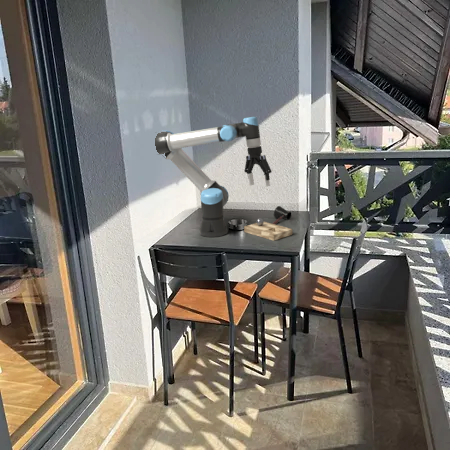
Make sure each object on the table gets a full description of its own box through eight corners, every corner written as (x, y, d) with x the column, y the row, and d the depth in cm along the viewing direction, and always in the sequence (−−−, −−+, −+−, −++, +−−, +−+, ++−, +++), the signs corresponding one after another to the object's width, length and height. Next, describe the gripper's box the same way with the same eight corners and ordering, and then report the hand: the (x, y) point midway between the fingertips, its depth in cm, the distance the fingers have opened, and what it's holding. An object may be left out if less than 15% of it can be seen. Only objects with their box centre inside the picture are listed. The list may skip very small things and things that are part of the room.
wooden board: (273, 240, 221) (273, 235, 220) (244, 231, 237) (244, 226, 236) (292, 234, 229) (292, 229, 229) (262, 226, 246) (262, 221, 245)
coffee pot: (280, 215, 266) (292, 219, 261) (262, 225, 254) (274, 230, 249) (280, 204, 263) (293, 207, 258) (263, 214, 251) (275, 218, 246)
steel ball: (259, 227, 234) (259, 219, 233) (254, 225, 237) (254, 218, 236) (265, 225, 237) (265, 218, 236) (260, 224, 240) (259, 217, 239)
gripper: (274, 144, 225) (280, 185, 231) (245, 145, 246) (250, 182, 251) (263, 147, 221) (269, 188, 227) (234, 148, 242) (240, 185, 247)
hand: (259, 185), depth 239 cm, fingers open, 13 cm apart
